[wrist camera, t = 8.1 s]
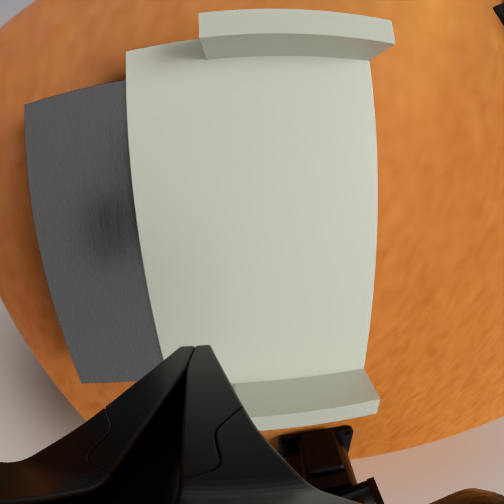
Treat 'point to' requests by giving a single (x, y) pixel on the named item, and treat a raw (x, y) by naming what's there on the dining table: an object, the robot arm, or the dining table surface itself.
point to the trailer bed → (263, 203)
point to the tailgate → (91, 231)
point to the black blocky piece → (500, 12)
